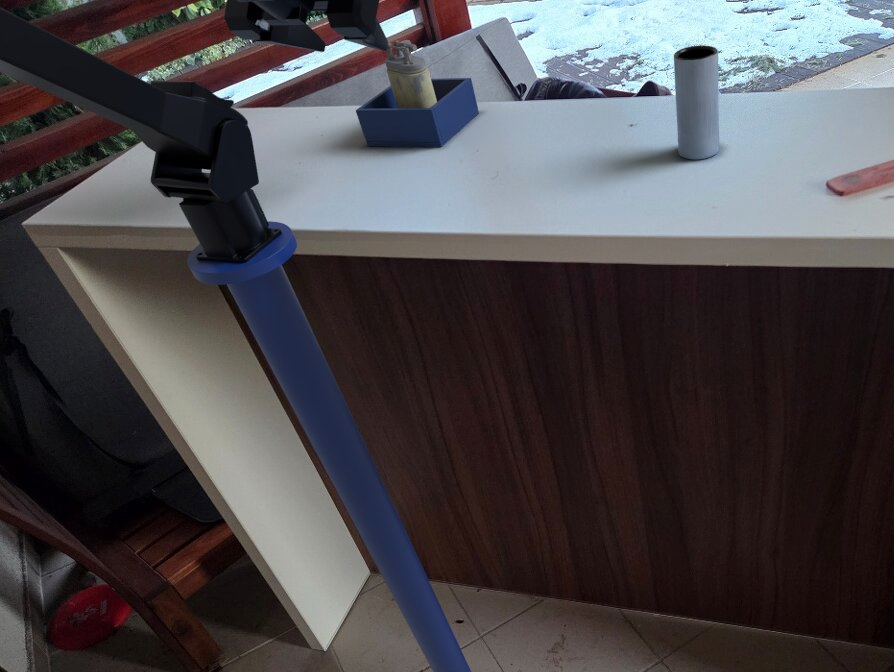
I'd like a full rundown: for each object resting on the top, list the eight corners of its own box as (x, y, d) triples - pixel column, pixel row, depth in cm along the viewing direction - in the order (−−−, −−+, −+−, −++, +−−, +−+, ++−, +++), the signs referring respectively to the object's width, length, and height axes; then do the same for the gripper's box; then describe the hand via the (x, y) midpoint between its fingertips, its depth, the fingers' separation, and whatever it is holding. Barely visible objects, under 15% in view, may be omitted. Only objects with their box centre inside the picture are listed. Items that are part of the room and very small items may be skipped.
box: (441, 147, 95) (431, 109, 92) (367, 146, 98) (355, 110, 95) (479, 113, 102) (471, 77, 99) (409, 113, 106) (399, 79, 102)
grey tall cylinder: (725, 144, 84) (724, 45, 77) (710, 161, 82) (708, 60, 75) (687, 142, 86) (683, 44, 79) (672, 158, 83) (666, 59, 76)
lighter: (448, 124, 98) (427, 42, 92) (425, 135, 97) (402, 51, 90) (418, 116, 103) (395, 36, 96) (395, 125, 101) (370, 45, 94)
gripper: (335, -135, 68) (434, -27, 83) (191, -116, 75) (305, -19, 90) (314, -13, 69) (415, 73, 83) (172, -6, 76) (289, 73, 90)
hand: (354, 47), depth 86 cm, fingers open, 9 cm apart
